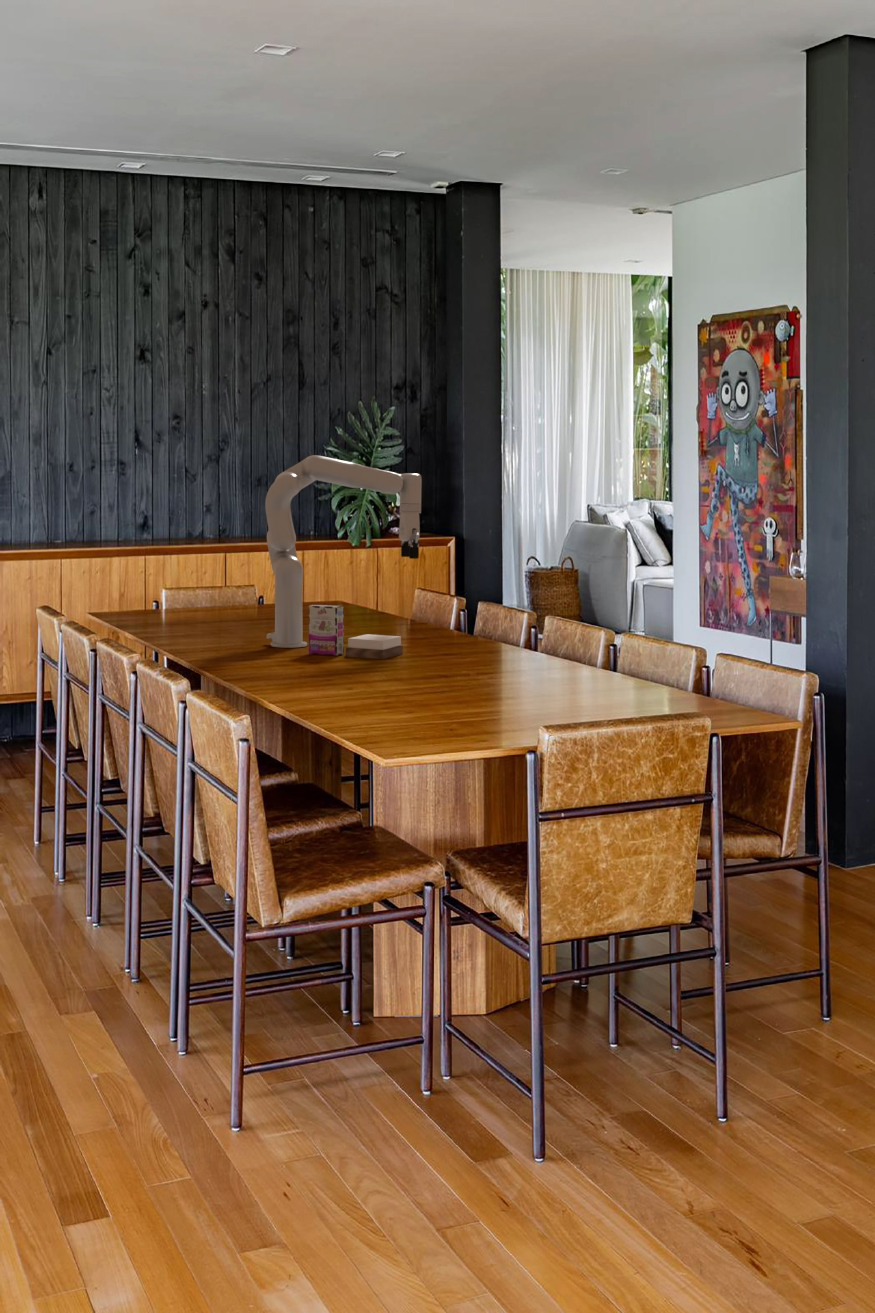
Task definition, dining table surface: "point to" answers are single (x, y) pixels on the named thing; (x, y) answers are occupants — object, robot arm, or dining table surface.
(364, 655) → the walnut base block
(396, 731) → the dining table surface
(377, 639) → the cream top block
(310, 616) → the candy bar box
